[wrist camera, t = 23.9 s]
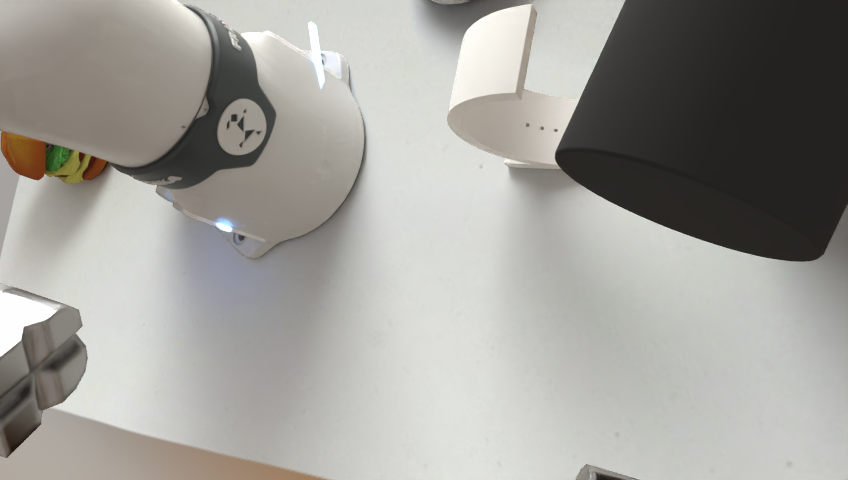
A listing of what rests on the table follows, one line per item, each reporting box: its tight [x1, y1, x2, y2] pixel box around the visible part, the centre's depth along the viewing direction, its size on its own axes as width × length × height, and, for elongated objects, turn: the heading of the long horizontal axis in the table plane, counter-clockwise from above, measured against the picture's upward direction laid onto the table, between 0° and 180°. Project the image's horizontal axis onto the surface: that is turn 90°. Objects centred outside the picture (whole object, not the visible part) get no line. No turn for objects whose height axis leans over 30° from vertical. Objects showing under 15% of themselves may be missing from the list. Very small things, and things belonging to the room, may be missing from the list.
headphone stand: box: [447, 4, 580, 169], centre depth 35 cm, size 5×6×12 cm
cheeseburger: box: [1, 131, 107, 184], centre depth 63 cm, size 10×11×10 cm
